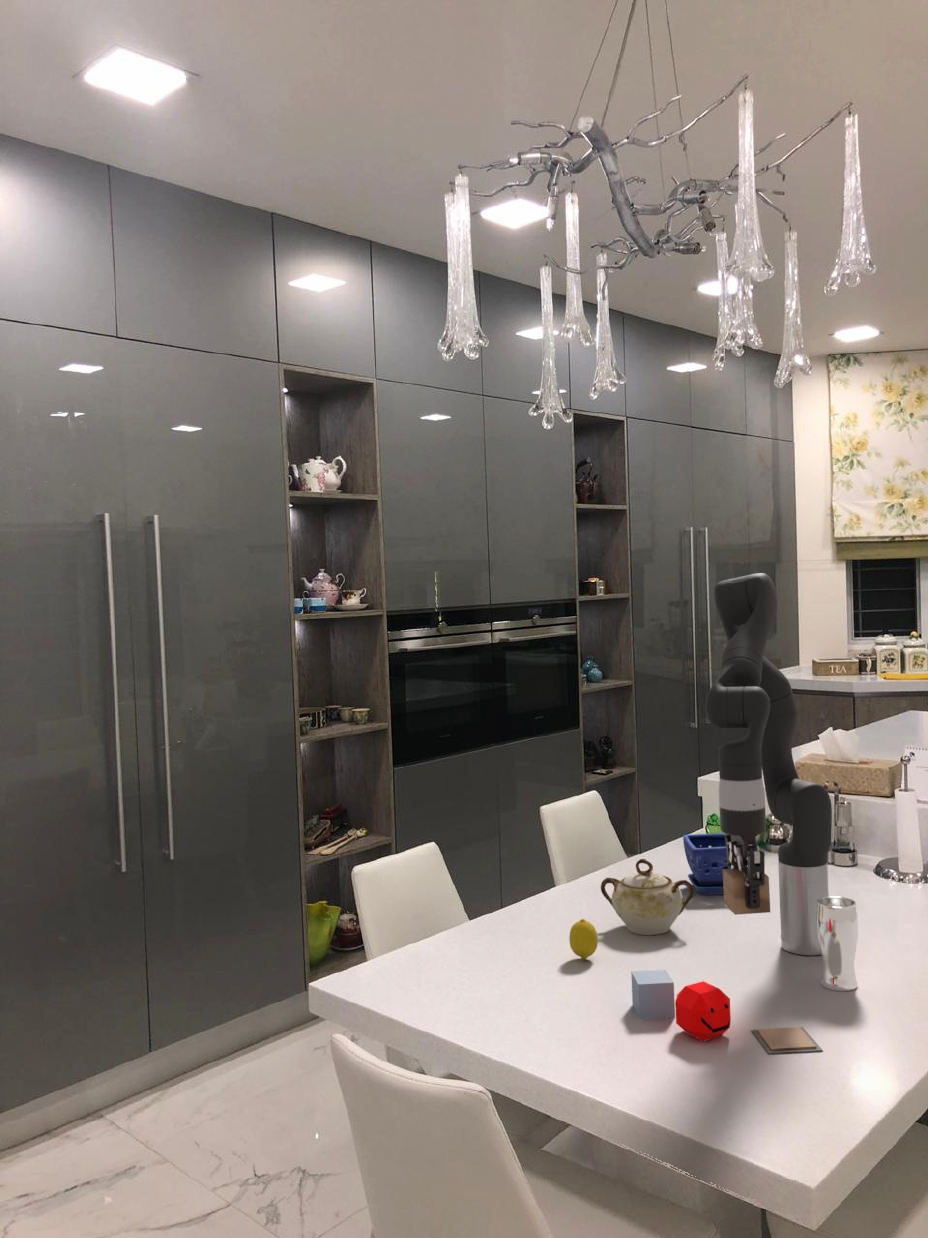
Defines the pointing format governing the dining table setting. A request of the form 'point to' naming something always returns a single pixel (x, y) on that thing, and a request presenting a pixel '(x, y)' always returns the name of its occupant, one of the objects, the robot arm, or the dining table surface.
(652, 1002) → the slate cube
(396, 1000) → the dining table surface
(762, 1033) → the walnut swatch
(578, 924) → the lemon
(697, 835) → the flower pot
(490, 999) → the dining table surface
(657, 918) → the sugar bowl
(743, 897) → the walnut cube
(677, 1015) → the ball
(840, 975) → the beer glass
